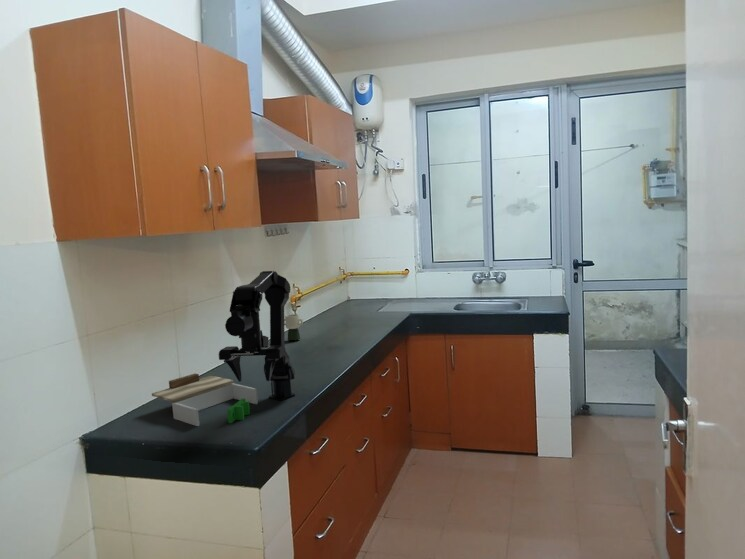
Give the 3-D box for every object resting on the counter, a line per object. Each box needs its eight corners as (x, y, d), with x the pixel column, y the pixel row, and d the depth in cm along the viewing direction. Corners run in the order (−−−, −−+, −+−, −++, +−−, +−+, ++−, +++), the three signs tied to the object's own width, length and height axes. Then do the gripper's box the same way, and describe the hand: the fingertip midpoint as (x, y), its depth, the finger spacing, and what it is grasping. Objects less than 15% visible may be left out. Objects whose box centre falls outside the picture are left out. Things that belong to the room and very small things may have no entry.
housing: (257, 403, 175) (256, 388, 174) (197, 426, 157) (195, 409, 157) (233, 397, 183) (232, 383, 182) (173, 418, 165) (172, 402, 165)
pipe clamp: (239, 424, 158) (238, 410, 157) (228, 423, 159) (227, 409, 158) (253, 411, 168) (252, 398, 168) (243, 411, 169) (242, 398, 168)
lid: (233, 382, 182) (233, 373, 181) (173, 402, 164) (172, 392, 164) (211, 377, 190) (210, 368, 189) (151, 395, 172) (150, 386, 172)
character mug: (306, 339, 271) (304, 314, 270) (301, 342, 264) (299, 316, 263) (287, 339, 274) (285, 314, 273) (281, 342, 267) (279, 316, 266)
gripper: (289, 323, 162) (293, 373, 164) (231, 324, 165) (236, 373, 167) (277, 330, 151) (281, 383, 153) (215, 332, 155) (220, 384, 156)
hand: (254, 381), depth 158 cm, fingers open, 9 cm apart
